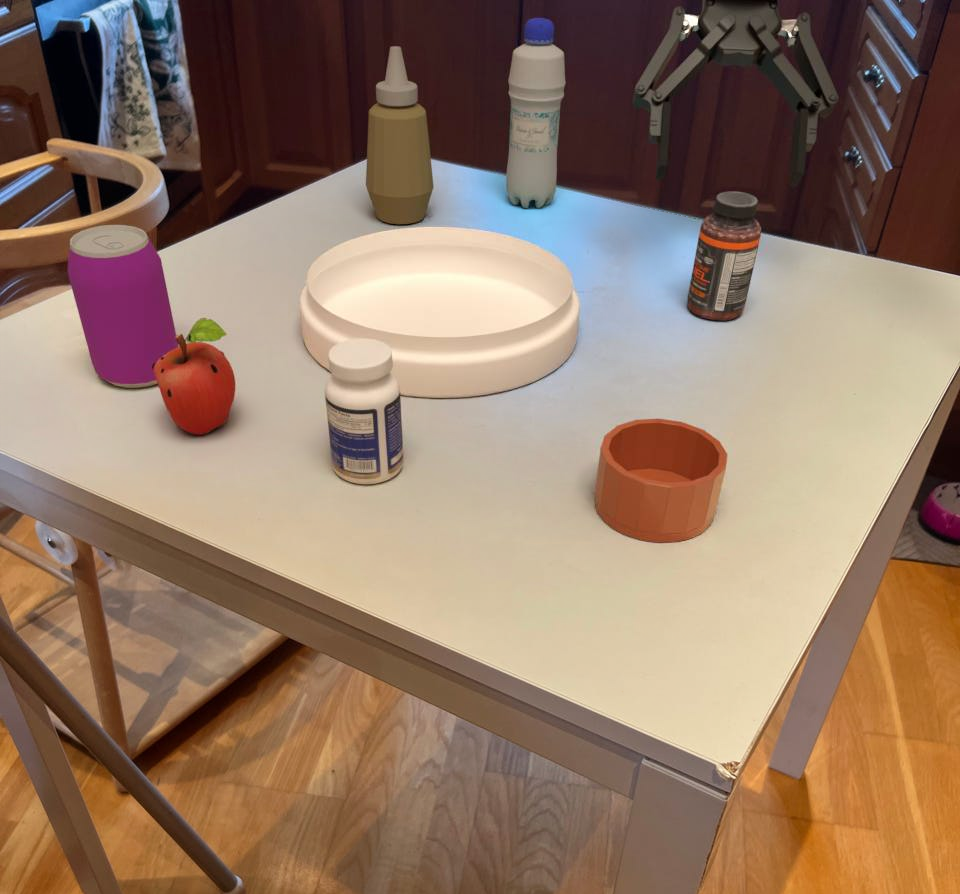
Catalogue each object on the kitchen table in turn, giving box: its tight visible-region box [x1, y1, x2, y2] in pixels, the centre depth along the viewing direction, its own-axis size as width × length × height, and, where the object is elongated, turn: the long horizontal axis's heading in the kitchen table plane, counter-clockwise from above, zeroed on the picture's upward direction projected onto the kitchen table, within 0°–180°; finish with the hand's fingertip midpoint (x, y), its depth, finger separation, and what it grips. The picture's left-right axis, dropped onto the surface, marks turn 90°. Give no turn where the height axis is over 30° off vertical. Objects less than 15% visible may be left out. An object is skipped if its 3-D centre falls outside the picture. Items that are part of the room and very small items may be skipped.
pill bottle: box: [324, 338, 404, 485], centre depth 75 cm, size 6×6×10 cm
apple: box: [152, 317, 236, 436], centre depth 78 cm, size 8×7×10 cm
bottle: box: [505, 17, 567, 209], centre depth 116 cm, size 7×7×20 cm
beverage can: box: [67, 224, 179, 389], centre depth 84 cm, size 8×8×12 cm
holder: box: [594, 418, 728, 544], centre depth 73 cm, size 9×9×5 cm
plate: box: [299, 226, 581, 399], centre depth 94 cm, size 27×27×6 cm
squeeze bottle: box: [365, 45, 435, 225], centre depth 112 cm, size 8×8×18 cm
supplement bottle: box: [686, 190, 762, 321], centre depth 97 cm, size 6×6×11 cm
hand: (728, 176), depth 98 cm, fingers open, 13 cm apart
